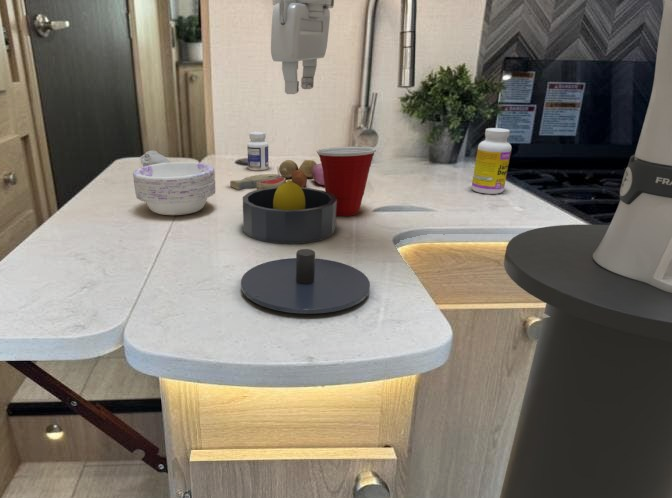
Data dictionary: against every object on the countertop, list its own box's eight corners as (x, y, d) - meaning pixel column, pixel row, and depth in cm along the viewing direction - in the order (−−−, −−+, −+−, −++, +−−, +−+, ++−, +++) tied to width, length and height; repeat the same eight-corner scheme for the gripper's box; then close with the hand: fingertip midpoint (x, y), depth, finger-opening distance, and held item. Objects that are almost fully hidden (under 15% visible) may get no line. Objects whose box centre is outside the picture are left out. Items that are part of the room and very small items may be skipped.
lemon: (268, 223, 96) (268, 178, 93) (297, 220, 98) (298, 175, 94) (280, 232, 91) (280, 185, 88) (310, 229, 93) (311, 182, 90)
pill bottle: (261, 165, 142) (260, 130, 139) (272, 169, 139) (272, 133, 135) (243, 168, 140) (243, 132, 136) (255, 171, 136) (254, 135, 132)
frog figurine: (146, 178, 130) (143, 148, 127) (175, 178, 129) (173, 148, 126) (138, 184, 124) (135, 153, 121) (168, 184, 124) (166, 153, 121)
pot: (342, 219, 99) (343, 190, 97) (323, 248, 86) (324, 214, 83) (260, 212, 104) (260, 184, 101) (230, 238, 90) (228, 206, 88)
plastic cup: (345, 201, 111) (348, 140, 106) (383, 213, 103) (389, 148, 98) (303, 209, 105) (304, 146, 100) (339, 223, 97) (343, 155, 92)
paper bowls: (132, 203, 110) (128, 163, 106) (206, 196, 114) (204, 158, 111) (142, 224, 97) (137, 180, 93) (225, 216, 101) (223, 173, 98)
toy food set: (305, 169, 138) (305, 153, 136) (356, 180, 127) (357, 162, 126) (227, 187, 122) (226, 169, 120) (279, 200, 111) (279, 181, 109)
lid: (377, 272, 77) (380, 237, 74) (357, 327, 62) (360, 285, 60) (264, 260, 81) (264, 226, 79) (221, 307, 67) (219, 268, 64)
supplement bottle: (495, 196, 114) (507, 133, 108) (465, 191, 118) (475, 129, 112) (508, 190, 118) (520, 129, 113) (479, 185, 122) (488, 126, 117)
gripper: (304, -15, 71) (302, 97, 77) (336, -4, 89) (332, 87, 95) (259, -14, 73) (260, 96, 79) (299, -3, 91) (297, 86, 97)
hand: (299, 91), depth 87 cm, fingers open, 8 cm apart
